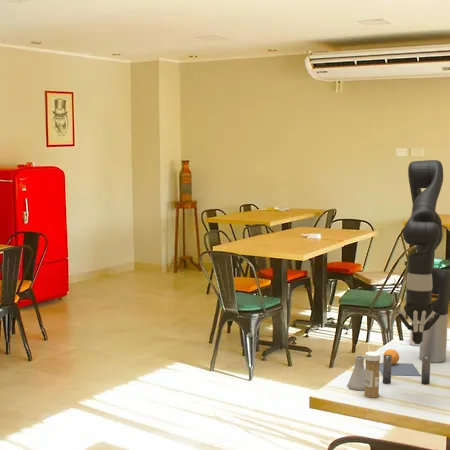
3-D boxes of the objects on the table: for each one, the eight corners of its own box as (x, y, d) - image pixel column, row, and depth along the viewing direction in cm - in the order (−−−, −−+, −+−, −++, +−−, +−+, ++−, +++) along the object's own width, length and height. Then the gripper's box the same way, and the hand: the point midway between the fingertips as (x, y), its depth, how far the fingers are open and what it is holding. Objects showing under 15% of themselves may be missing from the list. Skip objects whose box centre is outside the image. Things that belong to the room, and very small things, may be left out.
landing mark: (375, 363, 252) (375, 362, 252) (412, 364, 252) (412, 363, 252) (381, 375, 239) (381, 374, 239) (420, 376, 239) (420, 375, 239)
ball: (382, 364, 253) (381, 349, 254) (397, 365, 253) (397, 349, 254) (385, 364, 248) (384, 348, 249) (400, 364, 248) (400, 349, 249)
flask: (370, 392, 223) (371, 361, 222) (346, 390, 225) (347, 359, 224) (370, 384, 230) (371, 354, 229) (347, 382, 232) (348, 352, 231)
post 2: (420, 382, 233) (421, 355, 232) (428, 382, 233) (429, 355, 232) (422, 384, 230) (423, 357, 229) (430, 384, 230) (431, 357, 229)
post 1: (381, 381, 233) (382, 354, 232) (389, 381, 233) (390, 354, 232) (383, 383, 231) (384, 356, 230) (391, 384, 231) (392, 357, 230)
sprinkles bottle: (381, 397, 218) (383, 354, 217) (367, 398, 217) (369, 355, 216) (375, 392, 223) (376, 350, 221) (361, 393, 222) (362, 351, 220)
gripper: (438, 285, 218) (435, 340, 220) (394, 284, 219) (392, 339, 221) (444, 290, 211) (442, 347, 213) (399, 289, 211) (397, 346, 213)
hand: (416, 343), depth 217 cm, fingers closed
